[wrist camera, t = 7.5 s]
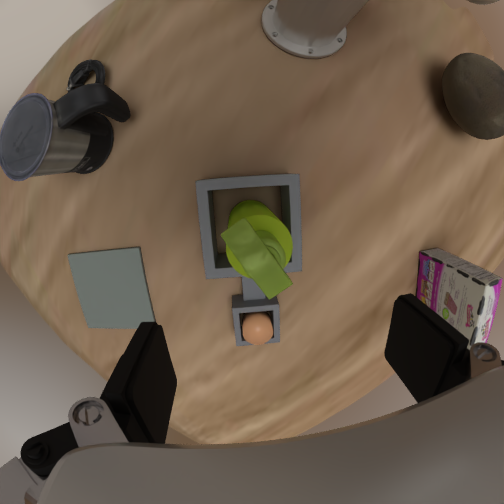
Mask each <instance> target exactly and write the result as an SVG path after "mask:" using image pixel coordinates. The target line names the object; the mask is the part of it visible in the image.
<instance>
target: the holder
mask: <svg viewBox="0 0 504 504" xmlns="http://www.w3.org/2000/svg"><path fill="white" fill-rule="evenodd" d="M278 185H280V188H281V208H282V223H283V224H284V225H285V226H286V227H287V229H288V230H289V232H290V235H291V237H292V242H293V250H292V255H291V258H290V260H289V262H288V264H287V265H286V267H285V268H284V269H283V270H284V271H285V273H287V272H297V271H302V236H301V202H300V179H299V174H271V175H253V176H239V177H226V178H215V179H204V180H198V181H196V193H197V203H198V214H199V223H200V233H201V242H202V250H203V259H204V267H205V274H206V279H216V278H228V277H241V276H242V286H243V295H232V311H233V320H234V329H235V338H236V346H244V345H254V344H251V343H249V342H247V341H246V340H245V339H244V337H243V328H242V326H241V323H240V313H248V312H259V311H270V318H271V323H272V327H273V335H272V337H271V339H270V340H269V341H268V342H266V343H276V342H280V319H279V302H278V299H277V297H276V296H274V297H273V298H271V299H270V300H269V299H268V297H267V296H266V295H265V294H264V293H263V291H262V290H261V289H260V288H259V286H258V285H257V284H256V283H255V282H254V280H253V279H251V278H247V277H245V276H243V275H241V274H240V273H238V272H237V271H236V270H235V269H234V268H233V267H232V266H231V264H230V262H229V260H228V258H227V254H226V253H223V254H218V251H217V241H216V231H215V220H214V209H213V198H212V190H221V189H232V188H246V187H261V186H278ZM266 343H264V344H266Z"/></svg>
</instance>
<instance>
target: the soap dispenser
mask: <svg viewBox="0 0 504 504" xmlns="http://www.w3.org/2000/svg"><path fill="white" fill-rule="evenodd" d="M221 237H222V238H223V240H224V241H225V243H226V254H227V258H228V260H229V262H230V264H231V266H232V267H233V268H234V269H235V270H236V271H237V272H238V273H240V274H241V275H243V276H245V277H247V278H251V279H253V280H254V282H255V283H256V284H257V285H258V286H259V288H260V289H261V290H262V291H263V293H264V294H265V295H266V296H267V297H268V299H269V300H270V299H271V298H273V297H274V296H276V295H277V294H279V293H280V292H282V291H283V290H285V289H286V288H288V287H289V286H291V285H292V284H293V283H292V281H291V280H290V278H289V277H288V275H287V274H286V273H285V271H284V270H283V269H284V268H285V267H286V265H287V264H288V262H289V260H290V258H291V255H292V250H293V242H292V237H291V235H290V232H289V230H288V229H287V227H286V226H285V225H284V224H283V223H282V222H281V221H280V220H279V219H278V218H277V217H276V216H275V215H274V214H273V213H272V212H271V211H270V210H269V209H268V208H267V207H266V206H265V205H264V204H263V203H261V202H259V201H255V200H246V201H243V202H241V203H239V204H237V205H236V206H235V207H234V208H233V210H232V211H231V213H230V216H229V221H228V229H227V230H226V231H224V232H223V233H222V234H221Z"/></svg>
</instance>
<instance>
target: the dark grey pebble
mask: <svg viewBox="0 0 504 504" xmlns="http://www.w3.org/2000/svg"><path fill="white" fill-rule="evenodd" d="M442 89H443V96H444V100H445V104H446V106H447V109H448V111H449V113H450V115H451V116H452V118H453V119H454V121H455V122H456V123H457V124H458V125H459V126H460V127H461V128H462V129H463V130H464V131H465V132H466V133H468V134H469V135H471V136H473V137H476V138H479V139H486V140H488V139H495V138H498V137H501V136H503V135H504V71H503V70H502V68H501V67H500V66H498V65H497V64H496V63H495V62H493V61H492V60H490V59H488V58H486V57H484V56H482V55H478V54H474V53H463V54H460V55H458V56H456V57H455V58H454V59H453V60H452V61H450V63H449V64H448V66H447V67H446V69H445V72H444V74H443V78H442Z"/></svg>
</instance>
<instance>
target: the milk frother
mask: <svg viewBox="0 0 504 504" xmlns="http://www.w3.org/2000/svg"><path fill="white" fill-rule="evenodd" d="M93 70H94V71H95V73H96V82H95V83H93V84H87V85H84V82H85V81H86V79H87V78H88V76H89V73H90V72H91V71H93ZM104 82H105V69H104V66H103V64H102V63H101V62H100V61H97V60H86V61H84V62H82V63H80V64H79V65H77V66H76V67H75V69H74V70H73V72H72V73H71V75H70V78H69V81H68V87H67V90H68V93H67V94H66V95H64V96H63V97H61V98H60V99H59V100H57V101H56V102H55V101H51V100H48V99H47V98H46V97H45V96H43V95H42V94H38V93H32V94H28V95H26V96H24V97H23V98H21V99H20V100H19V101H18V102H17V103H16V104H15V105H14V106H13V108H12V109H11V110H10V112H9V114H8V115H7V117H6V119H5V121H4V124H3V127H2V130H1V134H0V165H1V167H2V169H3V171H4V173H5V174H6V175H7V176H8V177H9V178H10V179H12V180H14V181H23V180H25V179H27V178H28V177H33V176H41V175H50V174H59V173H69V172H76V173H80V174H87V173H91V172H93V171H95V170H96V169H98V168H99V167H100V166H101V165H102V164H103V163H104V162H105V161H106V159H107V158H108V156H109V154H110V151H111V148H112V144H113V130H112V126H111V124H110V122H109V120H108V119H107V118H106V117H105V116H104V115H106V116H108V117H111V118H112V119H115V120H116V121H119V122H125V121H126V120H128V119H129V118H130V115H131V114H130V110H129V107H128V105H127V103H126V101H125V100H123V99H122V98H121V97H120V96H119V95H117V94H116V93H115V92H114V91H112V90H111V89H110V88H109V87H107V86H106V85H104ZM74 87H78V88H75V89H74ZM96 112H100V113H102V114H104V115H102V114H100V113H96Z"/></svg>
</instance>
